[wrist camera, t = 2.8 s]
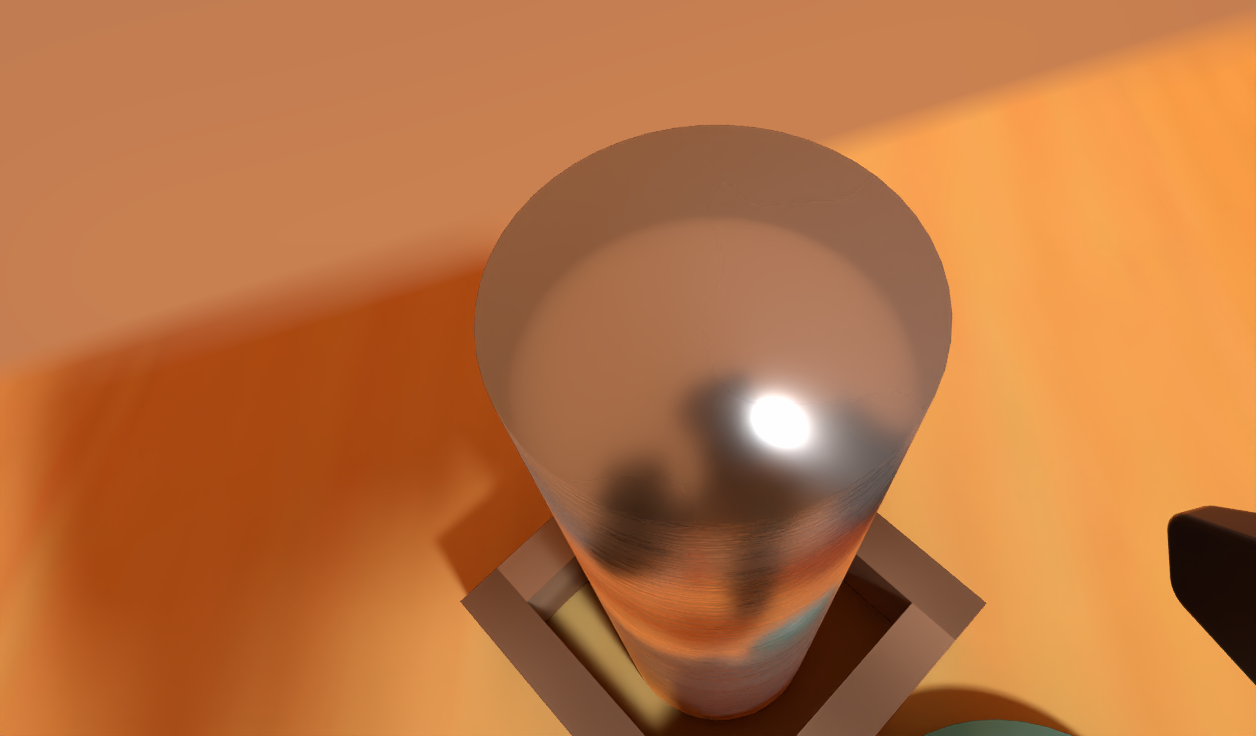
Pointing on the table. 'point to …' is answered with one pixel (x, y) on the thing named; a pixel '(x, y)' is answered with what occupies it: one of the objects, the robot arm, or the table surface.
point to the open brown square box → (840, 730)
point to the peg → (714, 387)
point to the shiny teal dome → (996, 729)
